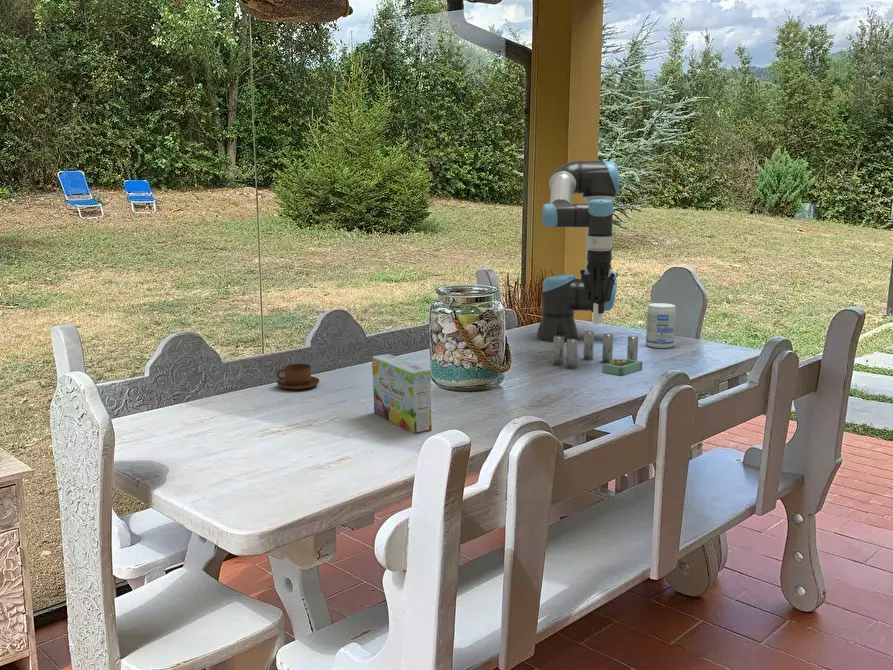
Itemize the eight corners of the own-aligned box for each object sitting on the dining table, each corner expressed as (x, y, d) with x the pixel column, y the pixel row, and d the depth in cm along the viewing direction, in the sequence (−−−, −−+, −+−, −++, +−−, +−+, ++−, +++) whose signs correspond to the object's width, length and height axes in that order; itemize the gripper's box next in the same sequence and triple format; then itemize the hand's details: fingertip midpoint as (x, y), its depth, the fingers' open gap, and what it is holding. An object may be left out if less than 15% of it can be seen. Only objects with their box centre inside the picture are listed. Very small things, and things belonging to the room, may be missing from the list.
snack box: (371, 413, 216) (370, 355, 214) (391, 410, 219) (390, 353, 217) (412, 434, 199) (412, 372, 196) (433, 430, 202) (432, 369, 199)
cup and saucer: (279, 394, 236) (278, 372, 235) (275, 384, 248) (274, 363, 247) (322, 390, 240) (321, 369, 238) (316, 381, 251) (316, 360, 250)
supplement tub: (658, 349, 293) (660, 307, 290) (640, 345, 301) (641, 304, 298) (679, 347, 297) (681, 305, 294) (661, 342, 305) (662, 302, 303)
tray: (602, 372, 260) (602, 364, 260) (622, 366, 268) (622, 358, 268) (621, 375, 255) (622, 367, 255) (642, 369, 263) (642, 361, 263)
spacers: (549, 364, 270) (549, 337, 269) (585, 355, 284) (585, 328, 283) (604, 375, 256) (605, 345, 255) (639, 364, 270) (640, 336, 268)
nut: (619, 372, 259) (619, 362, 259) (607, 370, 262) (607, 360, 262) (628, 369, 263) (629, 360, 262) (616, 367, 266) (616, 358, 266)
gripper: (575, 248, 267) (573, 322, 272) (610, 252, 258) (607, 327, 263) (589, 246, 272) (587, 318, 277) (624, 249, 263) (621, 324, 269)
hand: (597, 323), depth 270 cm, fingers closed
